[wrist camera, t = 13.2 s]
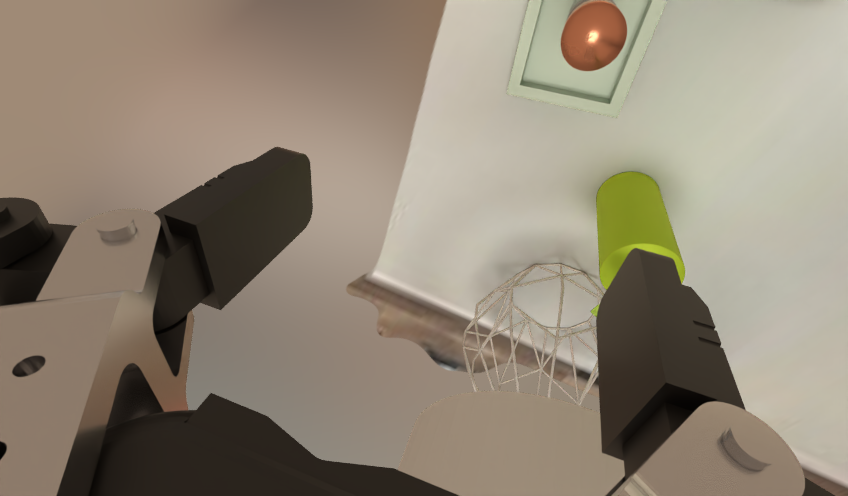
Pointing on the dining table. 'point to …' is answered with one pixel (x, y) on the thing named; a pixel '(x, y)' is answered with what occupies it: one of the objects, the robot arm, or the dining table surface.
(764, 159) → the dining table surface
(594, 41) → the grey and copper cylinder
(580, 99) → the tray
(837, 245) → the dining table surface
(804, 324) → the dining table surface
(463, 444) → the table lamp
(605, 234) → the soap dispenser
